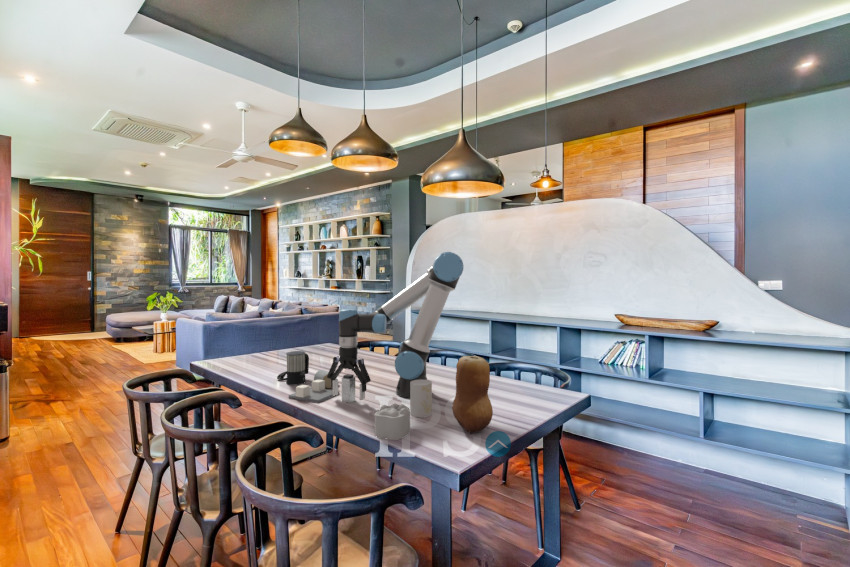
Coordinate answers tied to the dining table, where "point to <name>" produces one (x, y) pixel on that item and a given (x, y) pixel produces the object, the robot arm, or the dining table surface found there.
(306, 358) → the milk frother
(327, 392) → the board
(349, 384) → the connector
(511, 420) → the dining table surface
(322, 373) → the ceramic mug
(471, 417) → the butternut squash
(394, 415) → the lumpy-topped squat cylinder
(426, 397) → the cup
